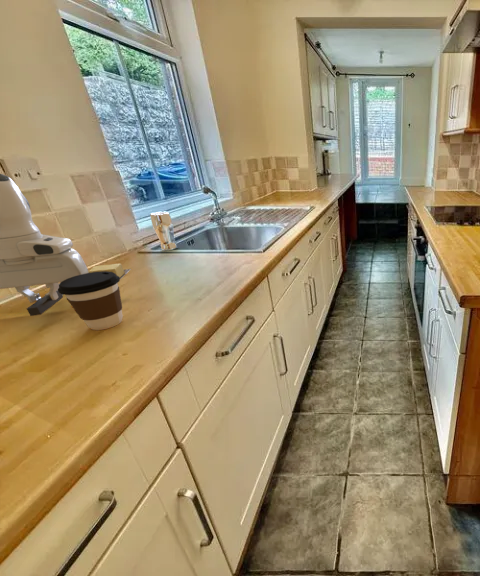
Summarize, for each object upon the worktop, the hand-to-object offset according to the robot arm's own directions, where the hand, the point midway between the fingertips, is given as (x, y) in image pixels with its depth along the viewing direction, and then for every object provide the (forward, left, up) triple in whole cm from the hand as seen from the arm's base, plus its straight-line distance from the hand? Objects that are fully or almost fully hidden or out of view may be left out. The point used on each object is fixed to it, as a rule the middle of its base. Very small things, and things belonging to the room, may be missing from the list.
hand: (45, 300), depth 79 cm
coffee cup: (+14, -8, -5) cm, 17 cm away
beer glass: (+13, +60, -5) cm, 62 cm away
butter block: (+4, +24, -4) cm, 25 cm away
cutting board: (+1, +24, -5) cm, 25 cm away
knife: (0, +6, -2) cm, 6 cm away
